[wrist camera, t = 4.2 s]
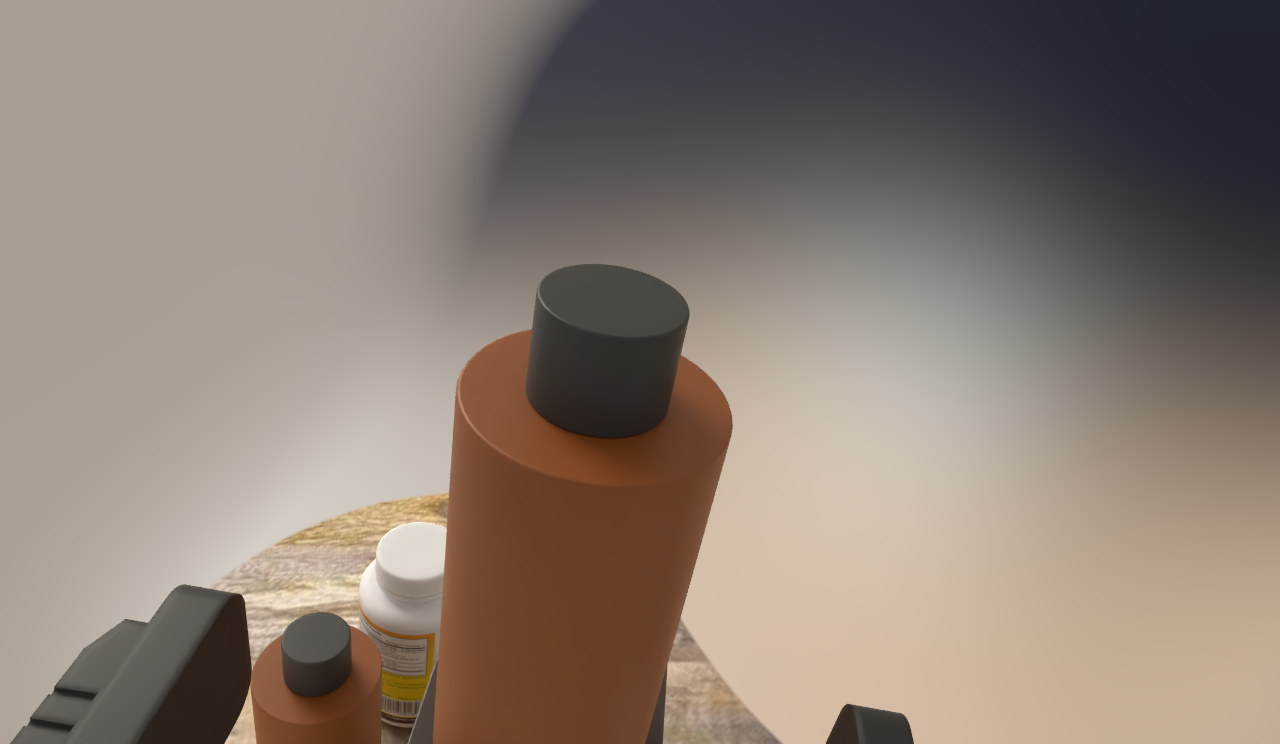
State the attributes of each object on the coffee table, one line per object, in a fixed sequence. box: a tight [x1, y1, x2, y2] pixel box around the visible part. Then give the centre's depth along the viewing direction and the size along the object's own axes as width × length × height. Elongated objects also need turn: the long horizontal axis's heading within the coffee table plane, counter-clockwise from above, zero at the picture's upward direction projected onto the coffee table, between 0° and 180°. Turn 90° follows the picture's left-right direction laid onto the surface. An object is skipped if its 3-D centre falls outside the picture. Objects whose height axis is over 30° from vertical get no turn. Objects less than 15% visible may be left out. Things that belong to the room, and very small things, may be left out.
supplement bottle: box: [359, 522, 447, 727], centre depth 44 cm, size 6×6×10 cm
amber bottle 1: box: [250, 612, 382, 744], centre depth 37 cm, size 5×5×12 cm
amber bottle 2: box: [433, 264, 733, 744], centre depth 18 cm, size 5×5×12 cm
